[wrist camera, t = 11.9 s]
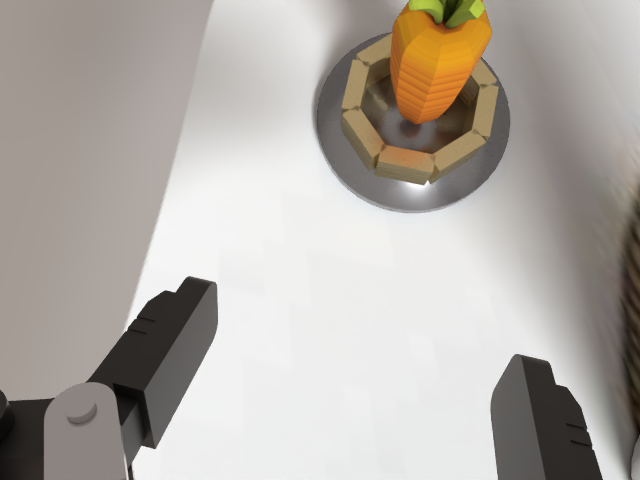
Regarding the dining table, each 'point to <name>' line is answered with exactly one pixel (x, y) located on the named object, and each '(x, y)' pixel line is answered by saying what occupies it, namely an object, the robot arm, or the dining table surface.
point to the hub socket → (408, 135)
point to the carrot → (435, 54)
